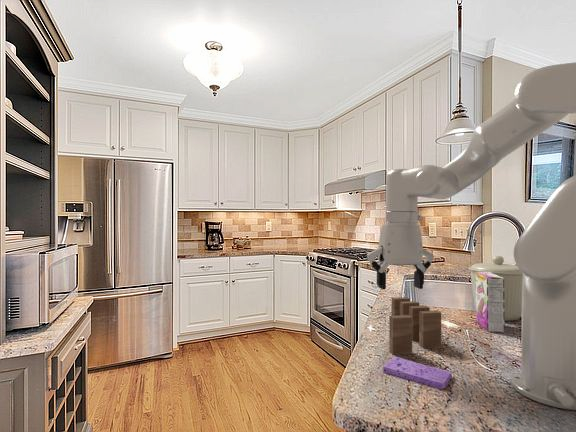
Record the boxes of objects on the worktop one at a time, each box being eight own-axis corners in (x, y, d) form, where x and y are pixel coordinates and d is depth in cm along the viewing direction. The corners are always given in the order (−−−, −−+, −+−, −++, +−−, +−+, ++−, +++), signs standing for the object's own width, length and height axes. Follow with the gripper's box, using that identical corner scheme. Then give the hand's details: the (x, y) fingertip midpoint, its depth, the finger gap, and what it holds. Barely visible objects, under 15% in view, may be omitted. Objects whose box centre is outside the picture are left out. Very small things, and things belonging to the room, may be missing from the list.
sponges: (394, 364, 81) (394, 356, 81) (453, 379, 73) (453, 370, 73) (382, 374, 76) (382, 365, 76) (443, 392, 68) (443, 382, 68)
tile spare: (412, 353, 86) (412, 317, 86) (392, 354, 85) (393, 317, 85) (408, 350, 88) (408, 315, 88) (389, 351, 87) (389, 315, 87)
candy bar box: (474, 321, 115) (474, 271, 115) (491, 322, 114) (491, 272, 114) (486, 332, 104) (486, 276, 104) (505, 333, 103) (505, 277, 103)
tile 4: (419, 333, 101) (419, 302, 102) (402, 334, 101) (403, 303, 101) (415, 331, 103) (415, 301, 104) (399, 332, 103) (399, 301, 103)
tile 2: (441, 347, 91) (441, 312, 91) (423, 348, 90) (423, 313, 90) (436, 344, 93) (436, 310, 93) (419, 345, 92) (419, 311, 92)
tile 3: (429, 340, 96) (429, 307, 96) (412, 341, 95) (412, 307, 95) (425, 337, 98) (425, 305, 98) (408, 338, 97) (409, 306, 97)
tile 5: (409, 328, 107) (409, 298, 107) (394, 328, 106) (394, 299, 106) (406, 326, 109) (406, 297, 109) (391, 326, 108) (391, 297, 108)
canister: (494, 308, 132) (494, 252, 132) (543, 322, 115) (543, 257, 115) (456, 312, 126) (456, 253, 126) (501, 327, 109) (501, 259, 109)
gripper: (425, 219, 92) (424, 284, 92) (362, 218, 90) (361, 285, 89) (442, 220, 85) (441, 290, 85) (374, 218, 82) (372, 291, 82)
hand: (400, 288), depth 87 cm, fingers open, 9 cm apart
